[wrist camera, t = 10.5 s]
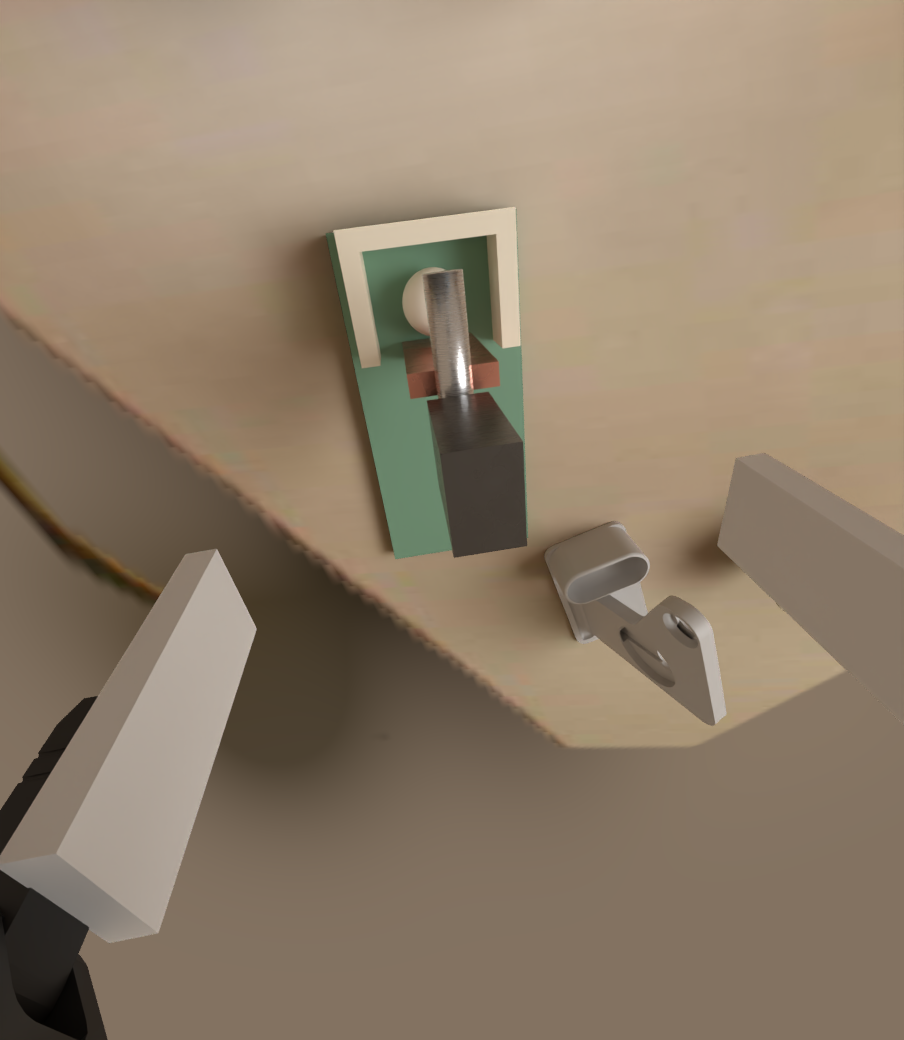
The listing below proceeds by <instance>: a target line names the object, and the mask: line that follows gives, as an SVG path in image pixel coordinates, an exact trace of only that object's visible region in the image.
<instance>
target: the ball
mask: <svg viewBox="0 0 904 1040" xmlns="http://www.w3.org/2000/svg"><path fill="white" fill-rule="evenodd" d="M444 270H445V269H442V268H438V267H428V268H424V269H422V270H420V271H418V272H417V273H415V274H414V275H413V276H412V277H411V278H410V279H409V281H408V282H407V284H406V286H405V289H404V292H403V297H402V305H403V311H404V314H405V317H406V319H407V320H408V322H409V323H410V325H411V326H412V327H413V328H414V329H415V330H416V331H418V332H419V333H421V334H424V335H426V336H430V333H429V325H428V317H427V310H426V302H425V294H424V287H423V279H422V274H425V273H430V272H437V271H444Z"/></svg>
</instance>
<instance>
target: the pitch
mask: <svg viewBox="0 0 904 1040" xmlns="http://www.w3.org/2000/svg"><path fill="white" fill-rule="evenodd" d="M333 231H334V233H326V238H327V242H328V247H329V252H330V256H331V261H332V266H333V270H334V275H335V280H336V284H337V289H338V294H339V298H340V303H341V308H342V312H343V317H344V322H345V326H346V331H347V336H348V340H349V345H350V350H351V354H352V359H353V364H354V368H355V373H356V378H357V382H358V387H359V392H360V396H361V401H362V406H363V410H364V415H365V420H366V424H367V429H368V434H369V438H370V443H371V448H372V452H373V457H374V462H375V466H376V471H377V476H378V480H379V485H380V490H381V494H382V499H383V504H384V508H385V513H386V518H387V522H388V527H389V532H390V536H391V541H392V546H393V550H394V555H395V559H399V558H405V557H412V556H418V555H424V554H430V553H437V552H443V551H449V550H452V546H451V541H450V537H449V532H448V527H447V522H446V518H445V513H444V508H443V503H442V499H441V494H440V489H439V484H438V477H437V470H436V463H435V456H434V449H433V442H432V435H431V428H430V421H429V414H428V407H427V400H434V399H438V395H435V396H429V397H422V398H415V399H410V393H409V387H408V380H407V374H406V367H405V360H404V353H403V346H402V342H405V341H413V340H420V339H427V338H430V336H426V335H424V334H421V333H419V332H418V331H416V330H415V329H414V328H413V327H412V326H411V325H410V323H409V322H408V320H407V319H406V317H405V314H404V311H403V305H402V297H403V292H404V289H405V286H406V284H407V282H408V281H409V279H410V278H411V277H412V276H413V275H414V274H415V273H417V272H418V271H420V270H422V269H424V268H428V267H438V268H442V269H445V270H453V269H463V277H464V288H465V299H466V311H467V322H468V333H470V332H471V333H472V334H473V335H474V336H475V337H476V338H477V339H478V340H479V341H480V342H481V343H482V345H483V346H484V347H485V348H486V349H487V350H488V351H489V352H490V353H491V354H492V355H493V356H494V357H495V358H496V359H497V360H498V361H499V375H500V386H497V387H490V388H483V389H477V390H474V394H475V393H482V392H489V393H490V394H491V396H492V397H493V399H494V400H495V402H496V403H497V404H498V406H499V407H500V409H501V410H502V412H503V413H504V415H505V416H506V417H507V419H508V420H509V422H510V423H511V425H512V426H513V428H514V429H515V430H516V432H517V433H518V435H519V436H520V438H521V439H522V441H523V450H524V476H525V503H526V530H527V538H528V523H527V495H526V467H525V439H524V411H523V383H522V355H521V327H520V299H519V271H518V242H517V214H516V207H510V208H502V209H494V210H487V211H479V212H471V213H463V214H456V215H448V216H440V217H433V218H425V219H417V220H409V221H402V222H394V223H386V224H378V225H371V226H363V227H355V228H348V229H340V230H333Z"/></svg>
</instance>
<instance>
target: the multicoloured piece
mask: <svg viewBox="0 0 904 1040" xmlns="http://www.w3.org/2000/svg"><path fill="white" fill-rule="evenodd" d="M422 279H423V287H424V294H425V302H426V310H427V317H428V325H429V333H430V338H427V339H420V340H413V341H405V342H402V346H403V353H404V360H405V367H406V374H407V380H408V387H409V393H410V399H415V398H422V397H429V396H435V395H438V399H434V400H427V407H428V414H429V421H430V428H431V435H432V442H433V449H434V456H435V463H436V470H437V477H438V484H439V489H440V494H441V499H442V503H443V508H444V513H445V518H446V522H447V527H448V532H449V537H450V541H451V546H452V551H453V556H454V558H455V557H461V556H467V555H474V554H480V553H486V552H492V551H498V550H505V549H511V548H517V547H523V546H527V530H526V503H525V476H524V450H523V441H522V439H521V438H520V436H519V435H518V433H517V432H516V430H515V429H514V428H513V426H512V425H511V423H510V422H509V420H508V419H507V417H506V416H505V415H504V413H503V412H502V410H501V409H500V407H499V406H498V404H497V403H496V402H495V400H494V399H493V397H492V396H491V394H490V393H489V392H482V393H475V394H474V390H477V389H483V388H490V387H497V386H500V375H499V361H498V360H497V359H496V358H495V357H494V356H493V355H492V354H491V353H490V352H489V351H488V350H487V349H486V348H485V347H484V346H483V345H482V343H481V342H480V341H479V340H478V339H477V338H476V337H475V336H474V335H473V334H472V333H471V332H470V333H468V322H467V311H466V299H465V288H464V277H463V269H453V270H444V271H437V272H430V273H425V274H422Z"/></svg>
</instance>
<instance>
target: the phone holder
mask: <svg viewBox="0 0 904 1040" xmlns="http://www.w3.org/2000/svg"><path fill="white" fill-rule="evenodd" d="M544 558H545V561H546V563H547V566H548V568H549V571H550V574H551V576H552V579H553V581H554V584H555V586H556V589H557V592H558V594H559V597H560V599H561V602H562V604H563V607H564V609H565V612H566V615H567V617H568V620H569V622H570V625H571V627H572V630H573V632H574V635H575V637H576V639H577V641H578V642H579V643H583V644H585V643H589V642H592V641H595V640H597V639H600V640H601V641H602V642H604V643H605V644H606V645H607V646H609V647H610V648H611V649H612V650H614V651H615V652H616V653H617V654H619V655H620V656H621V657H622V658H624V659H625V660H626V661H627V662H629V663H630V664H631V665H632V666H634V667H635V668H636V669H637V670H639V671H640V672H641V673H642V674H644V675H645V676H646V677H647V678H649V679H650V680H651V681H652V682H654V683H655V684H656V685H657V686H659V687H660V688H661V689H662V690H664V691H665V692H666V693H667V694H669V695H670V696H671V697H672V698H674V699H675V700H676V701H677V702H679V703H680V704H681V705H682V706H684V707H685V708H686V709H688V710H689V711H690V712H691V713H693V714H694V715H695V716H696V717H698V718H699V719H700V720H701V721H703V722H704V723H706V724H708V725H712V726H713V725H715V724H716V723H717V722H718V721H719V720H721V719H722V718H723V717H724V716H725V715H726V707H725V700H724V694H723V688H722V682H721V676H720V670H719V664H718V658H717V652H716V646H715V640H714V634H713V630H712V627H711V625H710V623H709V622H708V620H707V619H706V618H705V617H704V615H703V614H702V613H701V612H700V611H699V610H697V609H696V608H695V607H694V606H692V605H691V604H689V603H687V602H686V601H684V600H682V599H680V598H678V597H676V596H669V597H667V598H666V599H665V600H664V601H662V602H661V603H660V604H658V605H657V606H656V607H655V608H654V609H652V610H651V611H650V612H649V613H648V612H647V608H646V604H645V600H644V597H643V593H642V589H641V585H640V581H642V580H643V579H644V578H645V577H646V575H647V573H648V571H649V568H650V563H649V560H648V558H647V557H646V555H645V554H644V553H643V552H642V551H641V549H640V548H639V547H638V546H637V545H636V543H635V542H634V541H633V540H632V539H631V537H630V536H629V535H628V534H627V532H626V529H625V527H624V526H623V525H622V524H621V523H620V522H617V521H613V522H609V523H607V524H604V525H602V526H600V527H597V528H595V529H592V530H590V531H587V532H585V533H582V534H580V535H578V536H575V537H573V538H570V539H568V540H565V541H563V542H560V543H558V544H556V545H553V546H551V547H549V548H548V549H547V550H546V552H545V555H544ZM660 654H661V655H662V656H661V655H660ZM662 657H663V658H664V659H665V660H664V659H663V658H662Z"/></svg>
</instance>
